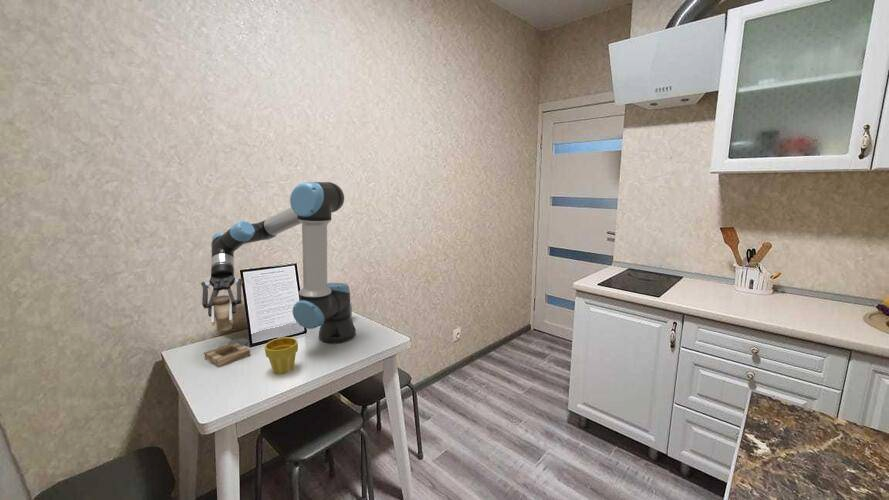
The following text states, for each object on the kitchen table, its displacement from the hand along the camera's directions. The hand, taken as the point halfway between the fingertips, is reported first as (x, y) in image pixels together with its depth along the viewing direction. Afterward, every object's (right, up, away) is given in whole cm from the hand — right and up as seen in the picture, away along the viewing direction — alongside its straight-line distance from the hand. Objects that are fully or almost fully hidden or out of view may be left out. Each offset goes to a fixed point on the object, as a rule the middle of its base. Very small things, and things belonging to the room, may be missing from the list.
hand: (222, 322), depth 128 cm
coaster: (-4, -12, +18) cm, 22 cm away
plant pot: (+23, -16, -2) cm, 28 cm away
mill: (-2, -3, +4) cm, 5 cm away
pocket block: (-2, -14, +6) cm, 15 cm away
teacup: (+30, -8, +44) cm, 54 cm away
